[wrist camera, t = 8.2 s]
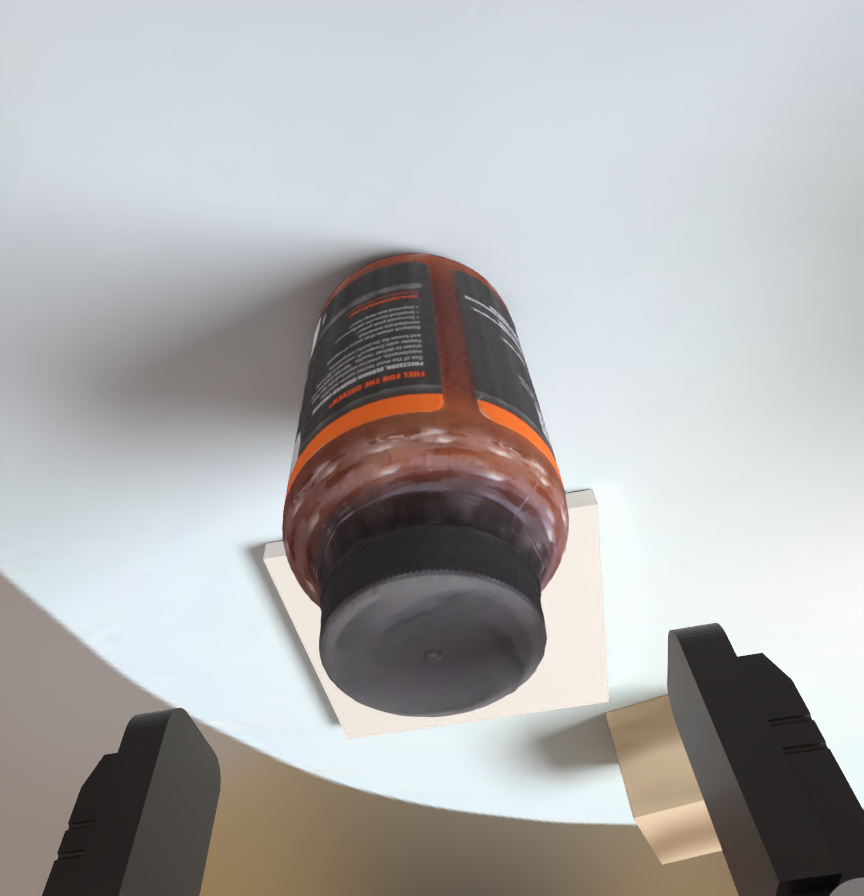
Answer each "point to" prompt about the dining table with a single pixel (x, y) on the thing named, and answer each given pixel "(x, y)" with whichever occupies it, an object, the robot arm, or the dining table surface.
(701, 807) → the beech block
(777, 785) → the robot arm
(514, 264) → the dining table surface
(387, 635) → the supplement bottle
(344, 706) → the pad
